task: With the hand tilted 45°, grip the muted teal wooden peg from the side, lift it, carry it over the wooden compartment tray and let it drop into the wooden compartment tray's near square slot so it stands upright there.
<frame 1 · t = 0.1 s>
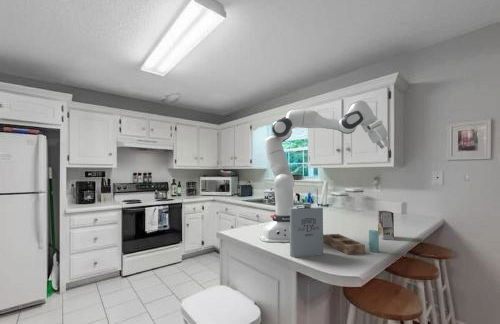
hand: (385, 147, 129), 54 cm above the worktop, tool tilted 30°, fingers open, 8 cm apart
flask: (307, 255, 113), on the worktop
coffee box: (385, 238, 144), on the worktop
peg: (374, 251, 119), on the worktop
wooden compartment tray: (342, 247, 125), on the worktop
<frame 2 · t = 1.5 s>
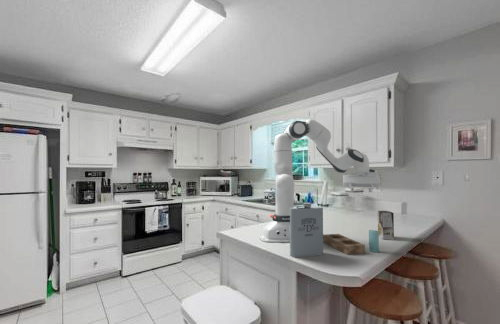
hand: (361, 191, 134), 29 cm above the worktop, tool tilted 45°, fingers open, 8 cm apart
nothing on the worktop moved.
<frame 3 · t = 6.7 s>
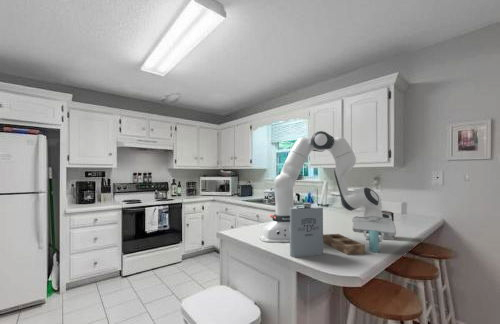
hand: (373, 240, 118), 5 cm above the worktop, tool tilted 45°, fingers closed on peg, 4 cm apart
peg: (374, 251, 119), on the worktop, touching gripper
everything else where it was.
when the fingers open (8 cm above the worktop, at t = 12.1 s): peg drops 3 cm, resting in wooden compartment tray.
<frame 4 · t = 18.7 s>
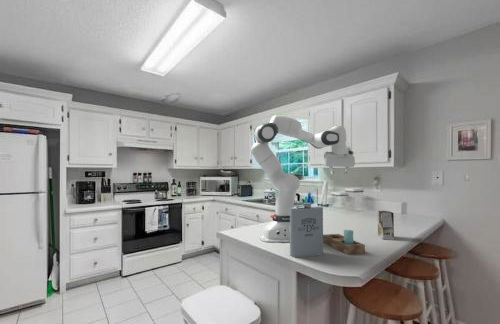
hand: (339, 174, 145), 39 cm above the worktop, tool pointing down, fingers open, 8 cm apart
peg: (348, 250, 119), resting in wooden compartment tray
everything else where it was.
at the end: peg 0.1 cm from the target spot on the wooden compartment tray, point 0.0 cm above the wooden compartment tray's base; peg tilted 0°; the gripper is holding nothing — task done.
